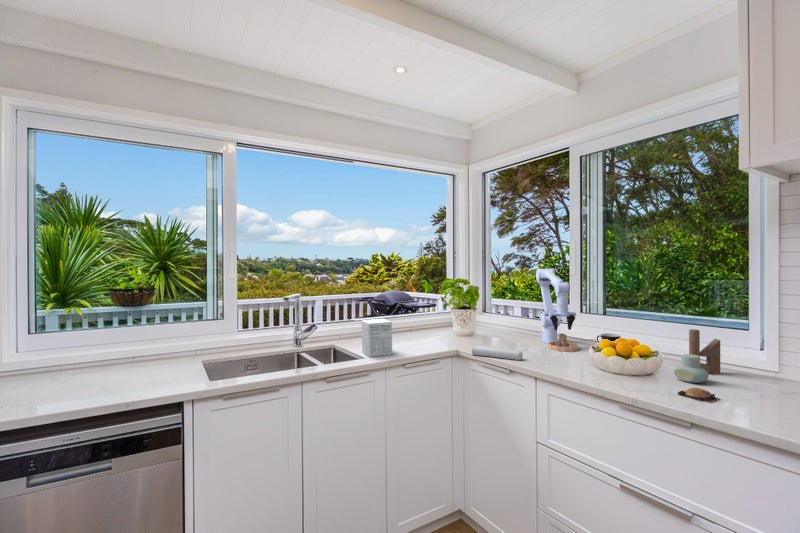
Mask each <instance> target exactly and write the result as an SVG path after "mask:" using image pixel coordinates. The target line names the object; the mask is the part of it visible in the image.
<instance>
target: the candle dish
mask: <svg viewBox="0 0 800 533" xmlns="http://www.w3.org/2000/svg"><path fill="white" fill-rule="evenodd" d="M547 349H548V350H550V351H555V352H564V353H569V352H571V353H574V352H578V350H579V344H578V343H576V342H570V341H567V347H561V344H560V343H559V340H557V341H552V342H548V343H547Z"/></svg>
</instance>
